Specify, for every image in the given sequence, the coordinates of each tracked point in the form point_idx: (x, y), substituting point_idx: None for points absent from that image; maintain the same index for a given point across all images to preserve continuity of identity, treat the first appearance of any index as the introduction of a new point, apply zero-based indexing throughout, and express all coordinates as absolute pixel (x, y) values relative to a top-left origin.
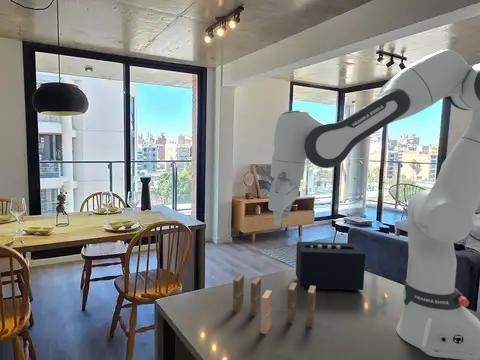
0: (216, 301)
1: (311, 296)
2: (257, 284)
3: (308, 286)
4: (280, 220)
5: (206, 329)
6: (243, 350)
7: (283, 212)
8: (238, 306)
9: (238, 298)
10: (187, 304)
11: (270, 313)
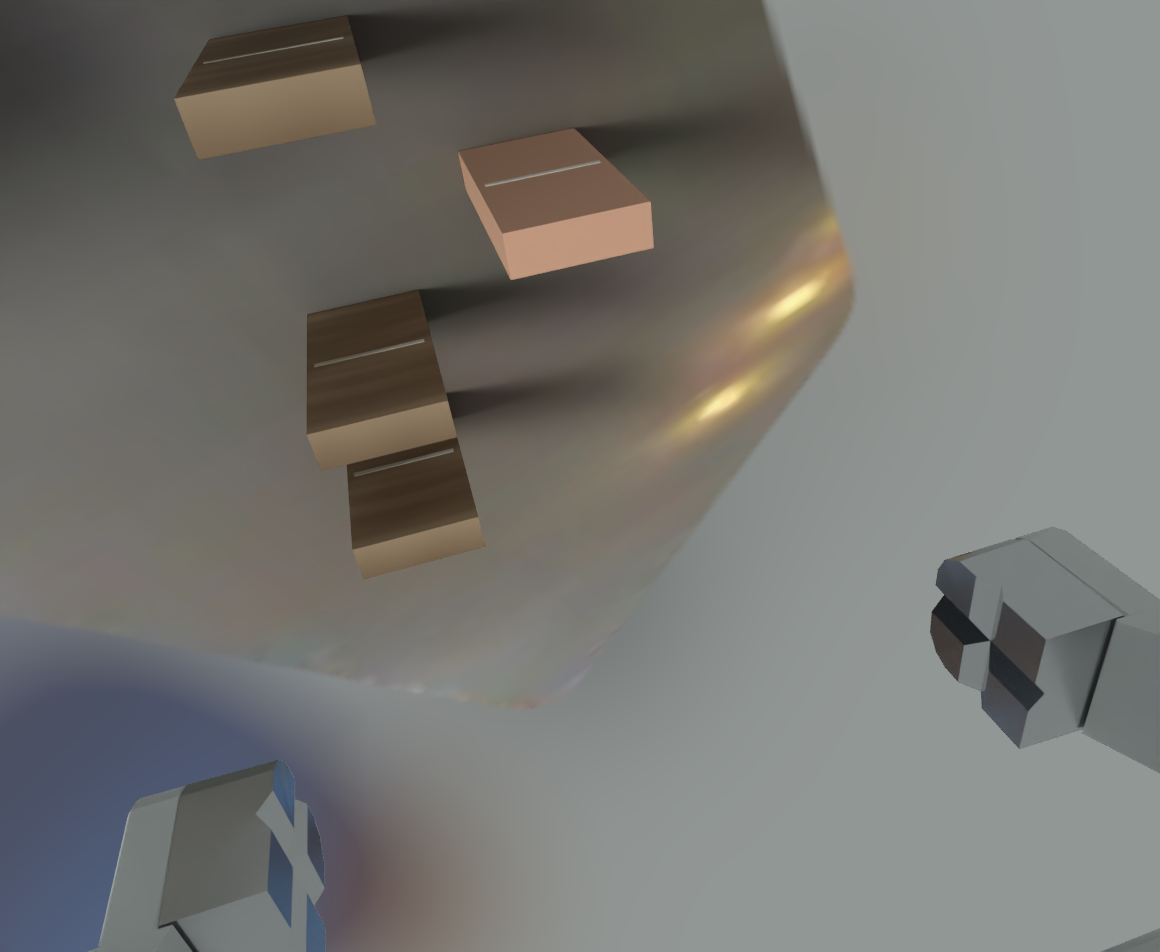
0: None
1: None
2: (408, 399)
3: None
4: (1141, 593)
5: (676, 416)
6: (772, 164)
7: (320, 946)
8: None
9: (450, 442)
10: (516, 617)
11: (499, 173)
